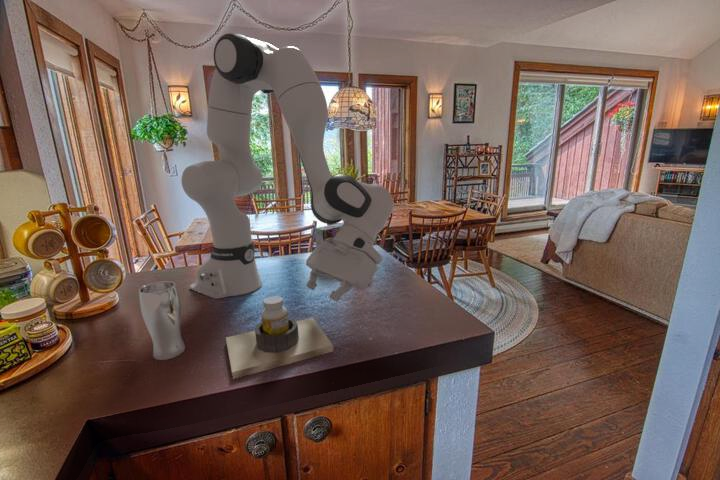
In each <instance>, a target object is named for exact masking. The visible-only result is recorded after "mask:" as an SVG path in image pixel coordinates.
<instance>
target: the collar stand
mask: <svg viewBox="0 0 720 480" xmlns="http://www.w3.org/2000/svg"><path fill="white" fill-rule="evenodd" d="M288 324H289V331H287V332H285V333H282V334H278V335H265V334H263V325H262V321H261V322H259V323H258V324H257V325H256V326H255V328H254V330H253V331H248V332H244V333H240V334H236V335H230V336H226V337H225V341H226V342H225V343H226V347H227V353H228V359H229V365H230V370H231V377H232V376H233V377H232V380H235V378H236V379H239V377H240V378H243V376H244V377H247V376H250V375H253V374H258V373H261V372H264V371H268V370H272V369H275V368H279V367H283V366H287V365H290V364H294V363H297V362H300V361H304V360H307V359H312V358H316V357H318V356H322V355H326V354H329V353H333V352H334V345H333V343H332V342H331V341H330V339H329V337H327V335H326V334H325V332H324V331H323V330H322V328H321V327H320V326H319V324H318V323H317V321H316V320H315V319H314V318H313V317H309V318H304V319H300V320H296V319H294V318H291V317H290V316H288ZM246 375H247V376H246Z"/></svg>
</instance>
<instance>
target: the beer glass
mask: <svg viewBox="0 0 720 480" xmlns="http://www.w3.org/2000/svg"><path fill="white" fill-rule="evenodd" d="M138 296H139V297H138V298H139V306H140V311H141V316H142V319H143V321H144V323H145V326H146V328H147V331H148V332H149V336H151V337H150V338H151V340H152V344H153V345H152V346H153V347H152V349H153V350H152V357H153V359H155V360H157V361H166V360H171V359H173V358H176V357H178V356H180V355H181V354H183V353H184V351H185V350H186V345H185V343H184V341H183V339H182V334H181V303H180V296H179V294H178V290H177V286H176V282H174V281H169V280H164V281H163V280H162V281H156V282H155V281H154V282H151V283H148V284H145V285H143V286H141V287H140V288H138Z"/></svg>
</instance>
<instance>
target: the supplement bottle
mask: <svg viewBox="0 0 720 480" xmlns="http://www.w3.org/2000/svg"><path fill="white" fill-rule="evenodd" d="M262 302H263V304H262V305H263V308H264V309H262V311H261V315H260V316H261V322H262V325H263V334H265V335H278V334H282V333H285V332H287V331H289V324H288V317H289V316H288V310H287V309H288V308H287V307H286V306H284V299H283V297H281V296H278V295H277V296H275V295H273V296H270V297H269V296H268V297H266V298H264V299H263V301H262Z"/></svg>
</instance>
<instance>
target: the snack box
mask: <svg viewBox="0 0 720 480" xmlns="http://www.w3.org/2000/svg"><path fill="white" fill-rule="evenodd" d="M343 224H344V222H338V223H335V224H328V225H323V226H319V227H315V228H314V238H315V248H316V247H317V246H318V245H319V244H320V243H322V242H323V241H325V240H328V239H334V238H335V236H336V235H337V233H338V232H339V230H340V229H341V227H342V225H343Z"/></svg>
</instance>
